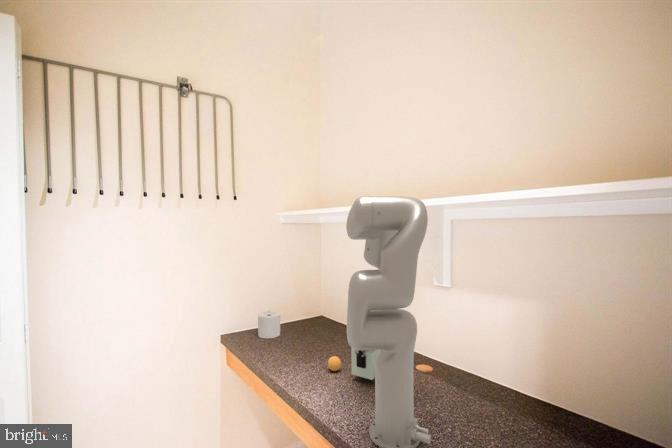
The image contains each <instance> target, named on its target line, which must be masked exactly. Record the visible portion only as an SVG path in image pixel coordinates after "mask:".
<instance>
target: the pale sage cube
mask: <svg viewBox="0 0 672 448" xmlns="http://www.w3.org/2000/svg"><path fill="white" fill-rule="evenodd" d="M350 351H351V365H350V366H351V375H353V376H357V377H360V378H363V379H368V380H371V381H373V380H375V364H376V361H377V358H378V356H379V354H380V352H381V351H382V350H366V351H365V355H364V356H366V368H360V367H357V356H356V353H355V350H354V349H353V348H352V347H351V350H350ZM361 351H363V350H361Z"/></svg>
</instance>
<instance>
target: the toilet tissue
mask: <svg viewBox="0 0 672 448" xmlns="http://www.w3.org/2000/svg"><path fill="white" fill-rule="evenodd" d="M257 336H258V338H260V339H275V338H277V337H280V336H281V313H280V312H277V311H271V310H267V311H264V312H261V313H259V314H258V316H257Z"/></svg>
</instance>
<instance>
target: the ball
mask: <svg viewBox="0 0 672 448" xmlns="http://www.w3.org/2000/svg"><path fill="white" fill-rule="evenodd" d="M341 366H342V362H341V358H339V356H336V355H335V356H334V355H333V356H331V357H329V359H328V360H327V367H328V368H329V370H330V371H332V372H337V371H338V370H340V368H341Z"/></svg>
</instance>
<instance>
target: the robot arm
mask: <svg viewBox="0 0 672 448" xmlns="http://www.w3.org/2000/svg"><path fill="white" fill-rule="evenodd" d="M428 218H429V217H428V210H427V206H426V205H425V203H424V202H423V201H422V200H421V199H419V198H416V197H410V196H402V195H399V196H397V195H396V196H395V195H393V196H392V195H391V196H387V195H385V196H380V195H379V196H372V195H371V196H370V195H367V196H360V197H357V198H356V199H355V200H354V202H353V203H352V206H351V208H350V210H349V212H348V213H347V219H346V224H345V225H346V233H347V236H348V237H349V239H351V240H356V241H357V240H358V241H359V240H365V244H364V250H363V259H364V260H365V262H366V263H367V264H368V265H370V266H372V267H373V268H376V269H362V270H358V271H355V272H354V273H353V274H352V275H351V277H350V279H349V282H348V283H349V284H348V290H347V311H346V312H347V313H346V314H347V315H346V338H347V342H348V345H349V347H350V348H351V349H352V348H353V349H354V350H355V353H356V356H357V367H360V368H366V356H364V355H365V351H366V350H382V351H381V352H380V354H379V356H378V358H377V361H376V364H375V378H374V396H375V397H374V405H375V406H374V408H375V409H374V411H375V414H374V416H375V417H374V418H375V420H374V421H373V422H372V423H371V424H370V426H369V430H368V431H369V432H368V433H369V438H370V440H371V441H372V443H373V442H374V443H375V445H376V446H377V445H378V446H379V447H378V446H377V447H378V448H380V447H381V448H417V447H418V446H419V444H420V443H424V444H427V445H430V444H431V443H432V442H431V441H432V435H431V434H429V431H430V430H429V428H426V427H421V426H420V425H419V424H418V418H417V417H414V414H415V413H414V411H415V410H414V405H415V403H414V397H415V396H414V395H415V394H414V362H415V361H414V356H415V347H416V341H417V336H418V335H417V334H418V325H417V319H416V317H415V316H414V315H413V314H412V313H411V312H410V311H408V310H406V309H405V308H408V307H409V306H411V305H412V303H413V300H414V297H415V296H414V295H415V291H416V282H417V281H416V280H417V272H418V259H419V253H420V252H421V251H420V250H421V248H422V244H423V241H424V239H425V236H426V233H427V229H428V222H429V221H428V220H429V219H428ZM361 350H363V351H361Z"/></svg>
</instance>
